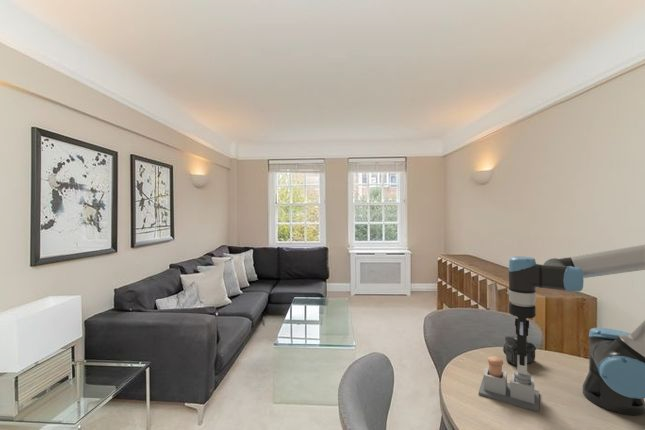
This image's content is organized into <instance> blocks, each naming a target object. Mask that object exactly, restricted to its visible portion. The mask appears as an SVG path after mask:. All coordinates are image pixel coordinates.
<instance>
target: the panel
mask: <svg viewBox="0 0 645 430" xmlns="http://www.w3.org/2000/svg"><path fill="white" fill-rule="evenodd" d="M509 382H510V383H509ZM509 382H508V371H505V370H502V378H499V377H495V376H491V375H489V366H485V369H484V372H483V378H482V381H481V384H480V386H479V390H478V396H482V397H486V398H489V399H492V400H495V401H498V402H503V403H506V404H509V405H513V406H516V407H519V408H523V409H527V410H531V411H534V412H536V413H540V396H539V395H540V392H539V390H536V389H535V378H534V377H531V379H530V385H527V384H523V383H519V382H515V376H514V372H513V373H511V374H510V381H509Z"/></svg>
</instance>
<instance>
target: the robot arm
mask: <svg viewBox="0 0 645 430" xmlns="http://www.w3.org/2000/svg"><path fill="white" fill-rule="evenodd" d="M508 261H509V262H508V289H509V290H508V291H506V294H507V295H509V296H508V300H509V303H508V313H509V314H510V315H511V316H512V317H515V321H514V326H515V335H516V337H517V352H516V351H515V354H517V365H516V366H517V367H516V368H517V373H519V374H523V375H527V373H528V363H527V354H529V351H527V342H528V340H527V337H528V336H529V328H530V320H528V319H534V318H535V317H536V316H537V314H536V313H537V310H536V309H537V307H536V303H537V299H536V297H537V292H536V288H539V289H549V290H558V291H566V292H581V291H583V288H584V279H586V278H587V279H588V278H595V277H603V276H608V275H617V274H623V273H625V274H626V273H631V272H632V273H633V272H639V271H640V272H641V271H645V244H641V245H635V246H629V247H621V248H617V249H616V248H615V249H610V250H604V251H600V252H599V251H598V252H594V253H593V252H591V253H588V254H587V253H586V254H582V255H581V254H579V255H575V256H570V257H563V258H557V257H556V258H552V257H551V258H549V259H547V260H546V261H545V262H544V263H543V264H539V263H537V262H536V259H535V258H534V257H531V256H512V257H510V258H509V260H508ZM516 317H517V318H516ZM588 333H589V334H588V335H587V336H588V338H589V339H588V341H589V342H588V343H589V344H588V345H589V346H588V351H589V352H588V354H589V355H588V357H589V362H588V363H589V365H588V366H589V367H588V368H589V369H588V370H589V371H588V373H587V375H586V377H585V379H584V381H583V384H582V394H583V395H584V397H585V398H586V399H587V400H588V401H590V402H592V403H593V404H595V405H597V406H598V407H601V408H603V409H605V410H608V411H610V412H611V411H612V412H614V413H619V414H623V415H627V416H639V415H643V414H645V320H643V322H642V323H640V325H638V327H636V328H635V329H634V330H633V331H632V333H629V332H627V331H622V330H619V329H618V330H617V329H612V328H604V327H593V328H590V329H589V332H588Z"/></svg>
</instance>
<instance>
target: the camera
mask: <svg viewBox="0 0 645 430" xmlns="http://www.w3.org/2000/svg"><path fill="white" fill-rule="evenodd" d="M504 340H505V344H504V345H503V346H502V347H503V349H502V351H503V353H504V354H505V358H506V359H505V360H506V361H507V363H509V364H511V365H513V366H517V354H515V351H516V352H517V336H511V335H508V336H505V337H504ZM536 350H537V347H536V346H535V345H534V343H531V342H530V341H527V351H529V354H527V364H531V363H532V362H534V361H535V359H536Z"/></svg>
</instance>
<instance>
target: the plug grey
mask: <svg viewBox="0 0 645 430" xmlns="http://www.w3.org/2000/svg"><path fill="white" fill-rule="evenodd" d="M513 373H514V376H515V382H519V383H523V384H527V385H530V379H531V378H532V374H530V373H529V372H527V375H523V374H519V373H517V370H514V371H513Z"/></svg>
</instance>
